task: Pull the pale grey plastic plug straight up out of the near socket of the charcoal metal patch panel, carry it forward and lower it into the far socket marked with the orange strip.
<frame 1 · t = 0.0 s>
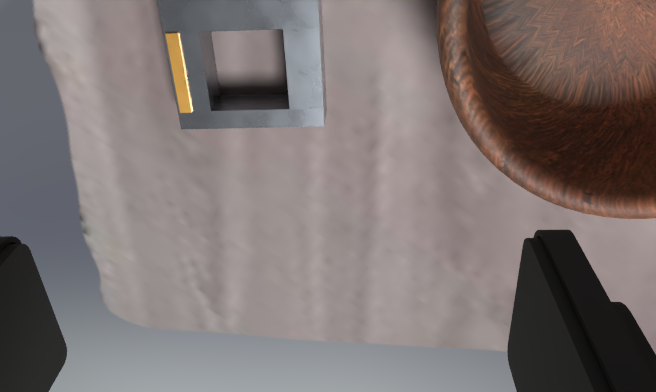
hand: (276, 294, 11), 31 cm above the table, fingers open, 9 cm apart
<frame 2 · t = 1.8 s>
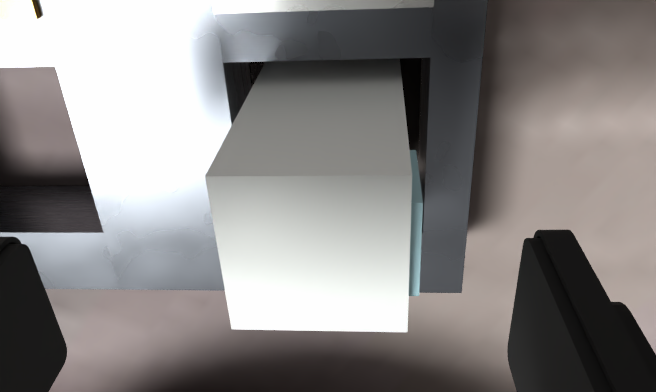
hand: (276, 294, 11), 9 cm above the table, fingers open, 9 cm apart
plug: (336, 112, 19), resting in panel
panel: (186, 115, 19), on the table
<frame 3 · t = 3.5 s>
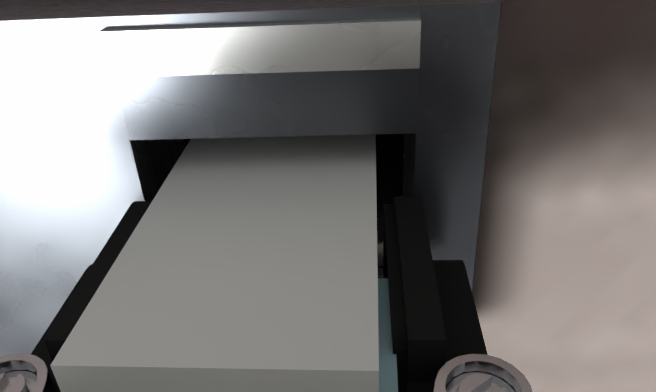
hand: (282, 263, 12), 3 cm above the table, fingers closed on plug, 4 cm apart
plug: (296, 183, 15), resting in panel, touching gripper
panel: (105, 186, 15), on the table
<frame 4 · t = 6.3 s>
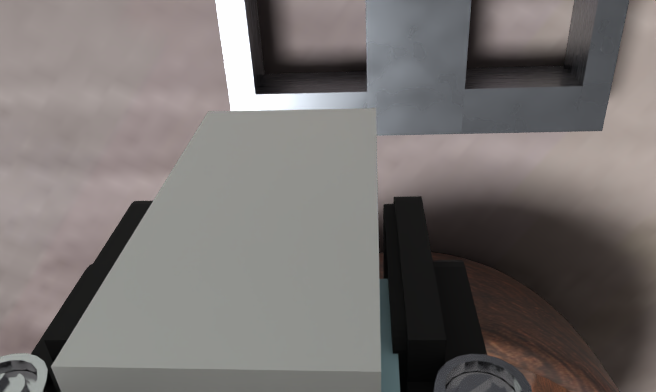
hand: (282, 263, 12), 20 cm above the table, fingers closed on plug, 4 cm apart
plug: (297, 183, 15), point 17 cm above the table, touching gripper
wooden bowl: (403, 359, 41), on the table
panel: (412, 17, 29), on the table
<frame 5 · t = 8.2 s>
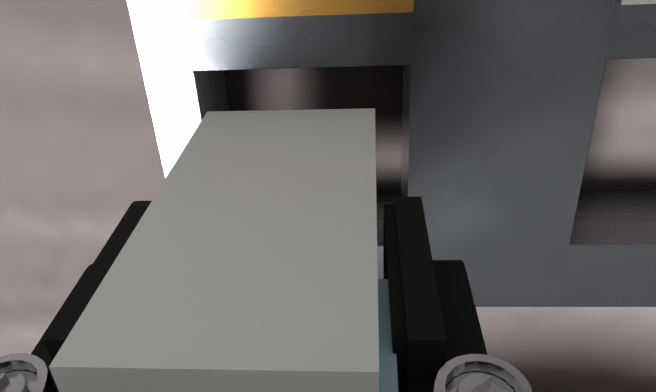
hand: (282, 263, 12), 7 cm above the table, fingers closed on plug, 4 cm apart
plug: (296, 183, 15), point 4 cm above the table, touching gripper
panel: (477, 117, 18), on the table
when the fingers open (4 cm above the table, at t = 9.5 s): plug moves 1 cm, resting in panel.
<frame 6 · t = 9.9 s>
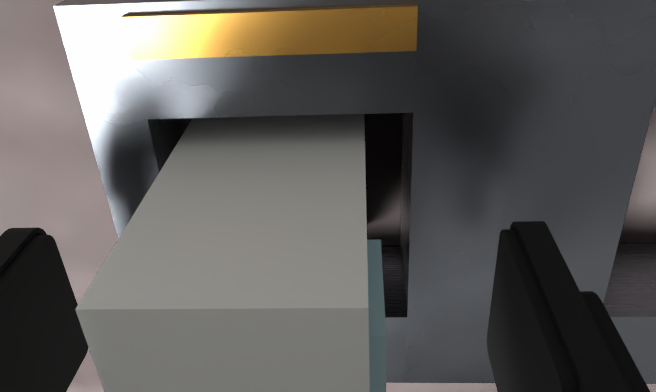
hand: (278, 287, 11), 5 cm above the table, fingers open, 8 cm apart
plug: (290, 163, 16), resting in panel
panel: (489, 161, 15), on the table
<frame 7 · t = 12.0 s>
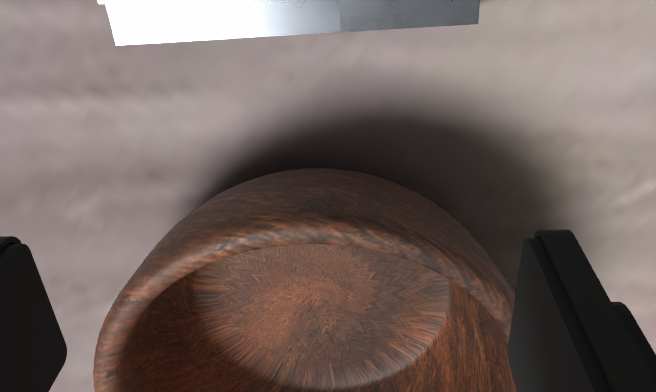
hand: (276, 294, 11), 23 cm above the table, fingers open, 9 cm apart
wooden bowl: (322, 289, 41), on the table
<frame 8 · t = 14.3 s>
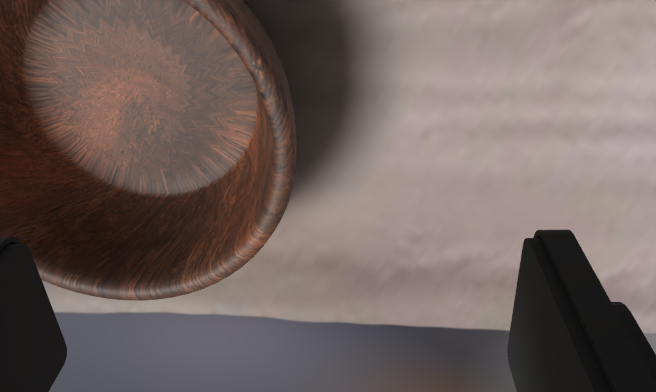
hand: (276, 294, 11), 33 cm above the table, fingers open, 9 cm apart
wooden bowl: (146, 89, 45), on the table
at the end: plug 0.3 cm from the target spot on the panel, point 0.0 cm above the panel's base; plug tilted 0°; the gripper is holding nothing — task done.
